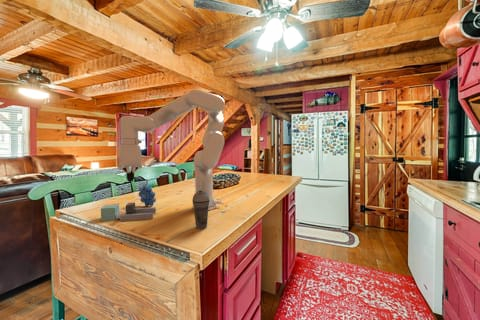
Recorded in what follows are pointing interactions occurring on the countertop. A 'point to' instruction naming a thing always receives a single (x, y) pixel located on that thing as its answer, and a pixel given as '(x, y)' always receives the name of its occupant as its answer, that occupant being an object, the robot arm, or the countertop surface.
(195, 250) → the countertop surface
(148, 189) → the grapes
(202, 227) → the beverage cup
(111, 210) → the block
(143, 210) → the channel
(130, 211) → the plunger
